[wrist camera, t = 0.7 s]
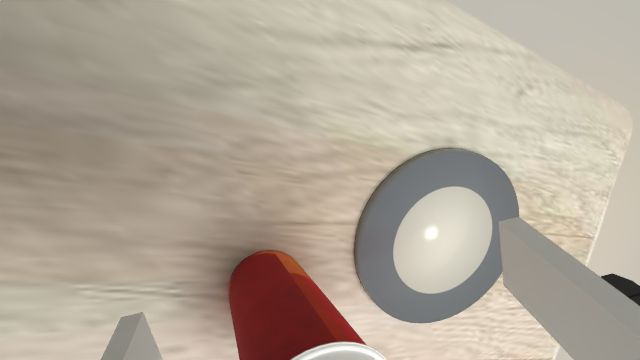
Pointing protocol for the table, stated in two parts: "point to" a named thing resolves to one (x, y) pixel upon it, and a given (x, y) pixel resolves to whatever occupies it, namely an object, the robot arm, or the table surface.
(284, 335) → the coffee cup
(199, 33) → the table surface
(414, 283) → the saucer
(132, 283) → the table surface
